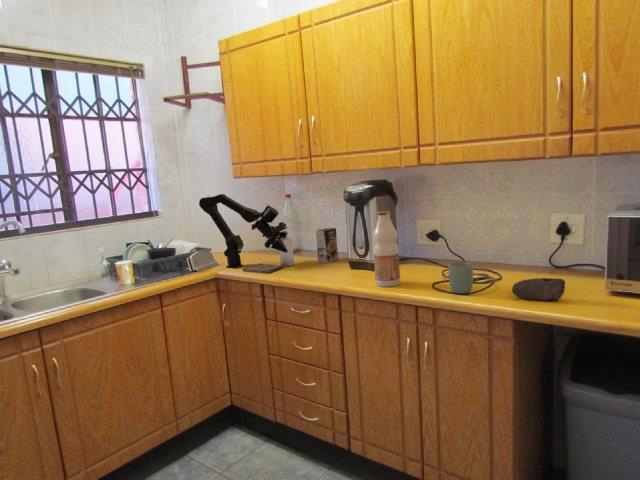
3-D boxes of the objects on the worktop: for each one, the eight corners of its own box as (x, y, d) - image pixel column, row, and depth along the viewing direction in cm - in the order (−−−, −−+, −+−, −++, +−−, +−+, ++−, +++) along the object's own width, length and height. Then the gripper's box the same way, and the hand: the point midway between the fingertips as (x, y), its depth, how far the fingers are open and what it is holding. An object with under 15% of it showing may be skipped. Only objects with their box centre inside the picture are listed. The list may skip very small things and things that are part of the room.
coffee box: (328, 263, 219) (325, 230, 216) (317, 262, 223) (315, 230, 220) (338, 259, 226) (336, 227, 223) (328, 258, 230) (326, 227, 227)
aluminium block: (280, 265, 219) (278, 239, 217) (284, 263, 224) (282, 237, 222) (290, 265, 218) (288, 239, 216) (293, 263, 223) (291, 237, 220)
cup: (467, 296, 149) (467, 267, 147) (445, 294, 154) (444, 265, 152) (477, 290, 154) (476, 262, 153) (455, 288, 159) (454, 260, 158)
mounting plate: (242, 271, 216) (242, 269, 216) (259, 265, 226) (259, 263, 226) (267, 273, 207) (267, 271, 207) (284, 267, 216) (284, 265, 216)
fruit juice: (378, 288, 167) (373, 214, 163) (373, 282, 177) (368, 211, 172) (403, 285, 168) (399, 211, 164) (396, 279, 177) (392, 209, 173)
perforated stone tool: (511, 300, 142) (510, 279, 140) (512, 295, 146) (512, 275, 145) (565, 304, 134) (565, 281, 133) (565, 298, 139) (565, 277, 138)
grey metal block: (197, 271, 224) (189, 253, 224) (191, 274, 226) (183, 256, 226) (219, 264, 238) (212, 247, 238) (212, 267, 241) (205, 249, 241)
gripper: (268, 220, 209) (292, 242, 208) (282, 215, 227) (304, 236, 226) (254, 237, 213) (278, 259, 212) (269, 231, 231) (291, 251, 229)
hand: (288, 250), depth 219 cm, fingers closed on aluminium block, 5 cm apart
